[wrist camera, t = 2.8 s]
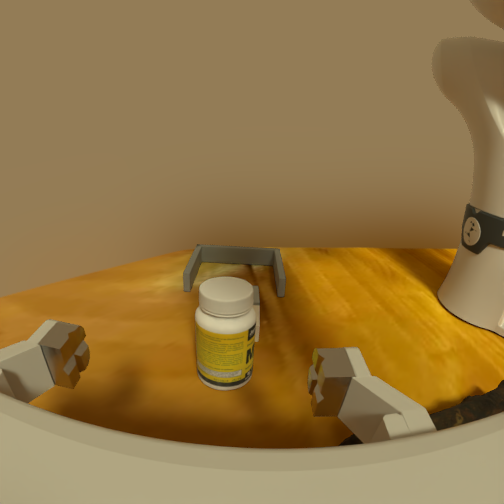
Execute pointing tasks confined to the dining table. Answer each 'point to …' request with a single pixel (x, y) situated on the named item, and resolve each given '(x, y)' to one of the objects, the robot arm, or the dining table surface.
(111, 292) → the dining table surface
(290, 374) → the dining table surface
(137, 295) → the dining table surface
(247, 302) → the supplement bottle
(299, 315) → the dining table surface
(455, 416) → the hand tool
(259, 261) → the grey u-shaped frame
